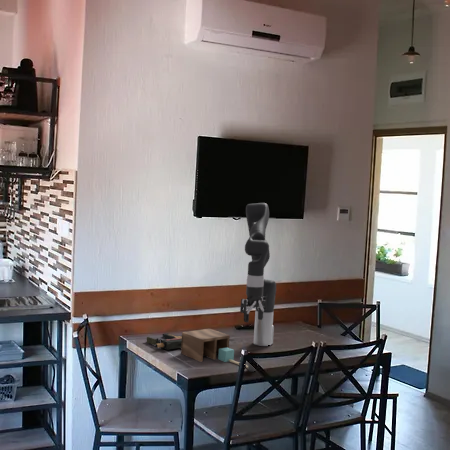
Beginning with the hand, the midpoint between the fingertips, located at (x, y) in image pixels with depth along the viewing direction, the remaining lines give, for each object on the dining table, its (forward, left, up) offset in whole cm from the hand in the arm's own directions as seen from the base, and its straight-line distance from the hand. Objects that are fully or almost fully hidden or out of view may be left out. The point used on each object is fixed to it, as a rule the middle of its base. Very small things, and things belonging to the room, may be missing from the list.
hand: (253, 320), depth 278 cm
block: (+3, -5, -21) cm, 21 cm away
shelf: (+7, -24, -21) cm, 33 cm away
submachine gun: (+8, -49, -21) cm, 54 cm away
